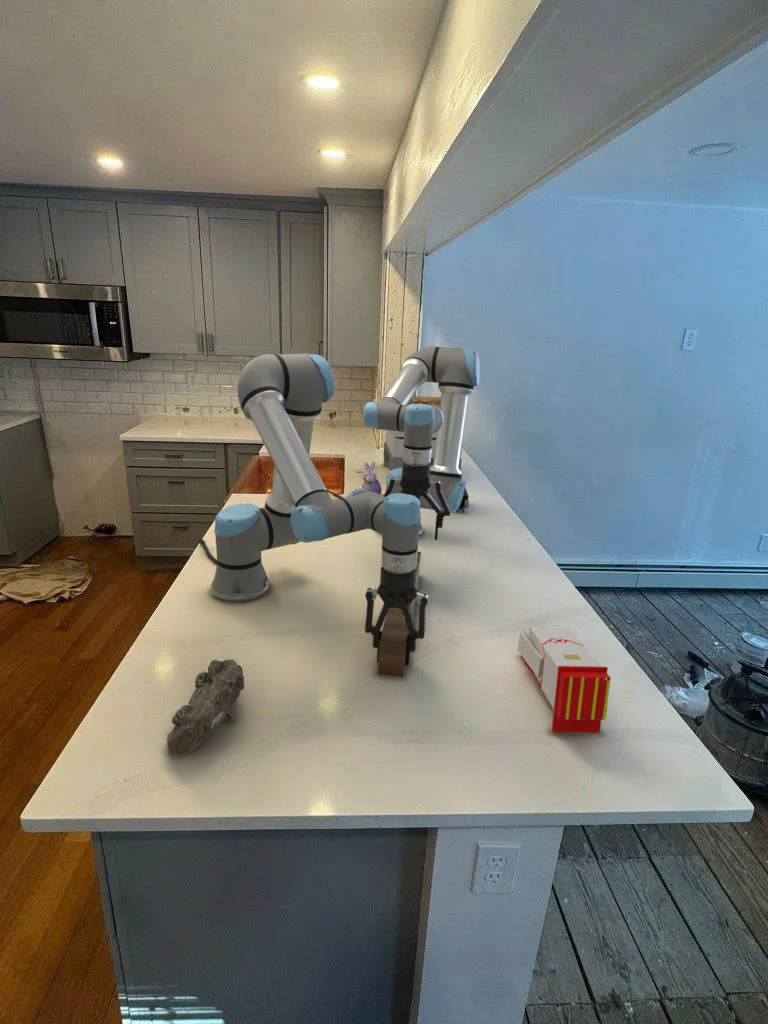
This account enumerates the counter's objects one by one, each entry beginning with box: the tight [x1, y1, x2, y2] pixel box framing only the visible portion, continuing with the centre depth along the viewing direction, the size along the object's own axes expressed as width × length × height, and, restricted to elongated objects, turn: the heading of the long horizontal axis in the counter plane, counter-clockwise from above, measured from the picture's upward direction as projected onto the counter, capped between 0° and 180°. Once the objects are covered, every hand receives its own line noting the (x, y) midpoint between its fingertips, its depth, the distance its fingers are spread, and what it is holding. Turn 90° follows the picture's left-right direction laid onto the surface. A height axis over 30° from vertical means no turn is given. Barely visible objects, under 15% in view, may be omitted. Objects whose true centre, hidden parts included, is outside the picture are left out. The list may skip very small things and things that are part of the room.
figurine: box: [361, 461, 382, 495], centre depth 234 cm, size 9×10×15 cm
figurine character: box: [455, 487, 470, 513], centre depth 227 cm, size 7×8×15 cm
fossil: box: [166, 658, 245, 754], centre depth 106 cm, size 22×10×15 cm
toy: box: [517, 626, 611, 734], centre depth 119 cm, size 12×13×30 cm
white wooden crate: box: [383, 392, 465, 472], centre depth 268 cm, size 34×33×41 cm
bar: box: [377, 551, 422, 678], centre depth 144 cm, size 50×6×8 cm, turn 173°
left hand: (393, 660), depth 127 cm, fingers closed on bar, 6 cm apart
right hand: (411, 536), depth 160 cm, fingers open, 13 cm apart
